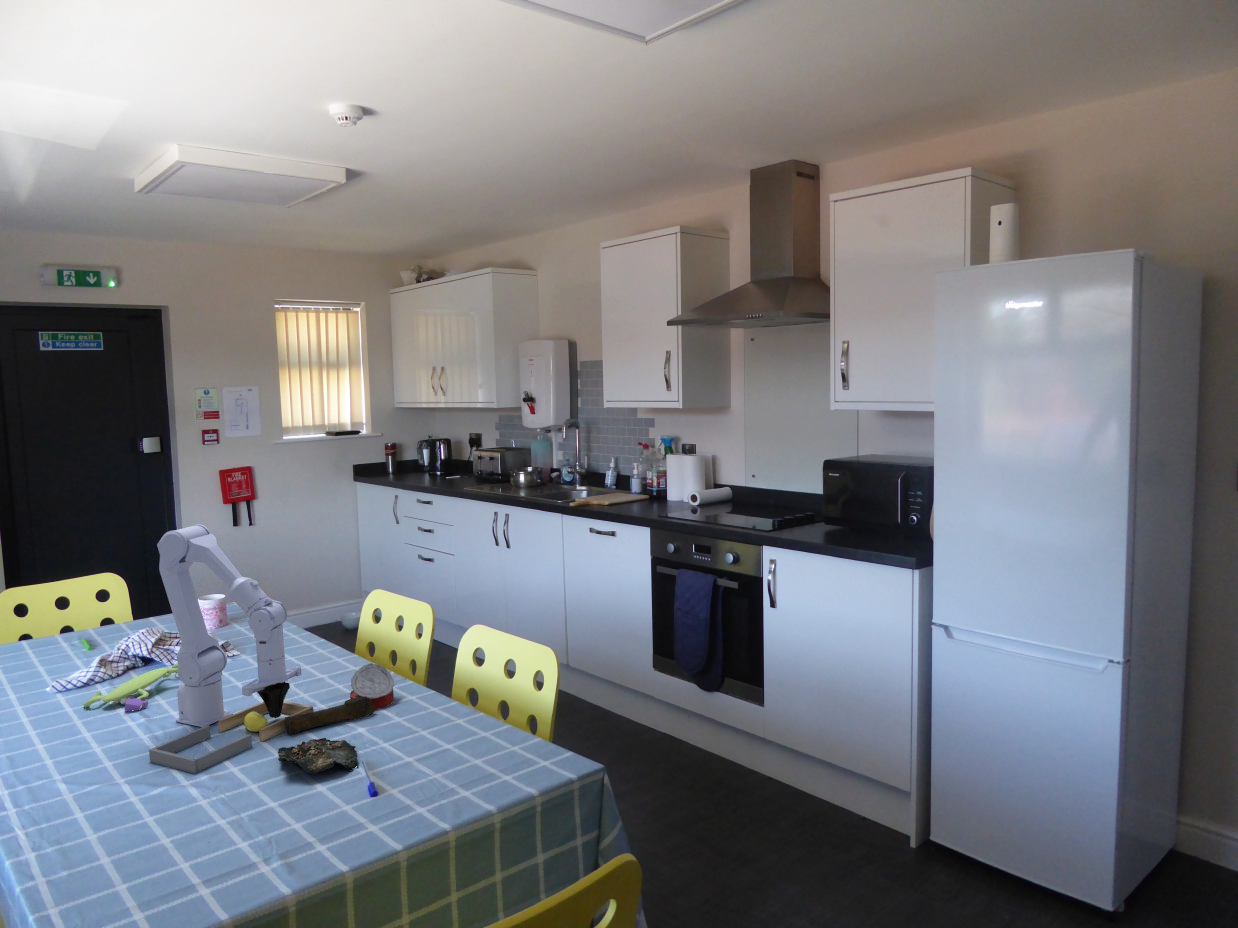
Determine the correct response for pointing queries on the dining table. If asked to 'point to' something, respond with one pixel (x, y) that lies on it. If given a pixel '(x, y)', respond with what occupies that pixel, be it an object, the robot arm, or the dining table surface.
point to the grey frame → (168, 758)
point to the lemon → (255, 721)
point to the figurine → (134, 689)
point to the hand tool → (330, 715)
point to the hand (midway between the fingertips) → (275, 716)
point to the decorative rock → (320, 755)
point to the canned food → (373, 685)
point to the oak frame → (262, 709)
